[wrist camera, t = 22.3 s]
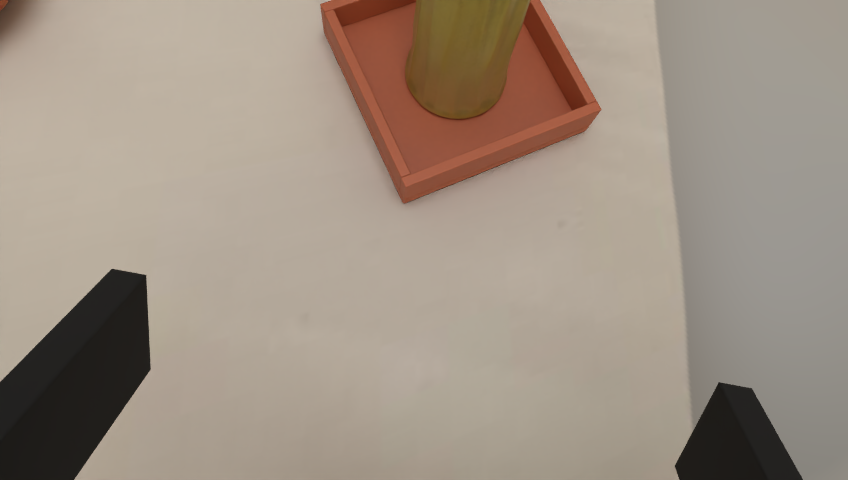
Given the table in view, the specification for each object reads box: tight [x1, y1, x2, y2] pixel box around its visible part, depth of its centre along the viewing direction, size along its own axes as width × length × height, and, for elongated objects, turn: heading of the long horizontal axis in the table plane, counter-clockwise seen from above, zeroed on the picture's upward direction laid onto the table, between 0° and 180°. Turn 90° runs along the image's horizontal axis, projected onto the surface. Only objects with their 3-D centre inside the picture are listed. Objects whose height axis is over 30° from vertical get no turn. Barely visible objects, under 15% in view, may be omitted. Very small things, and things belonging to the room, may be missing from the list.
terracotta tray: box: [321, 0, 601, 203], centre depth 37 cm, size 12×12×3 cm
